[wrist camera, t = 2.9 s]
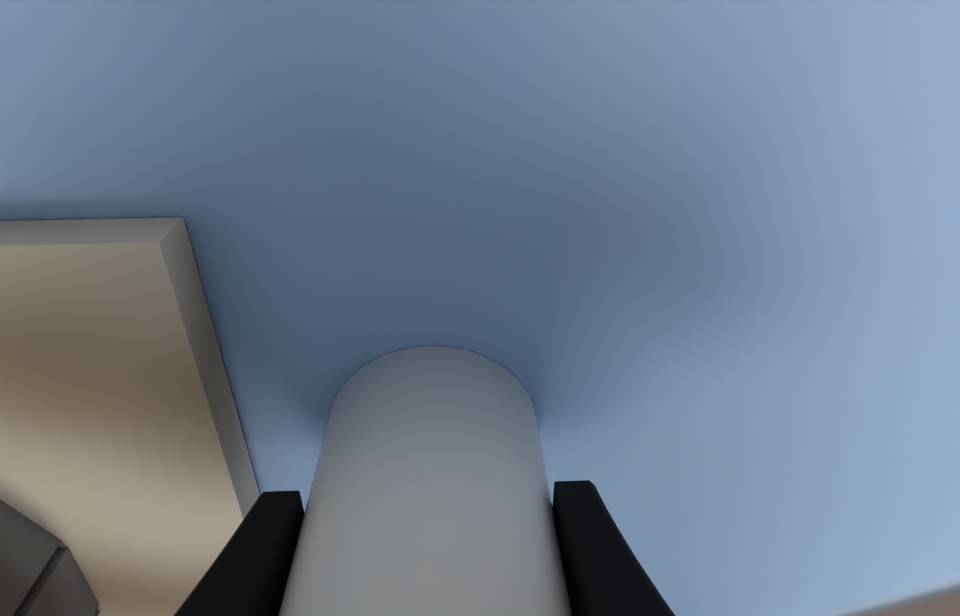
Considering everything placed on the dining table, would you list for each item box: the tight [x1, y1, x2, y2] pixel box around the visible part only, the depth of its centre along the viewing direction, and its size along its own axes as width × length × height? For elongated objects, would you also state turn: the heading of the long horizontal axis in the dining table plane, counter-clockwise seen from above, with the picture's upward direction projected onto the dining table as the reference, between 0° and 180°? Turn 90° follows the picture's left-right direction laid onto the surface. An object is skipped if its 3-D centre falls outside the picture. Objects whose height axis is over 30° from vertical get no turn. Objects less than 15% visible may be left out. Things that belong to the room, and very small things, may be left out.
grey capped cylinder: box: [278, 346, 572, 616], centre depth 10 cm, size 4×4×7 cm
